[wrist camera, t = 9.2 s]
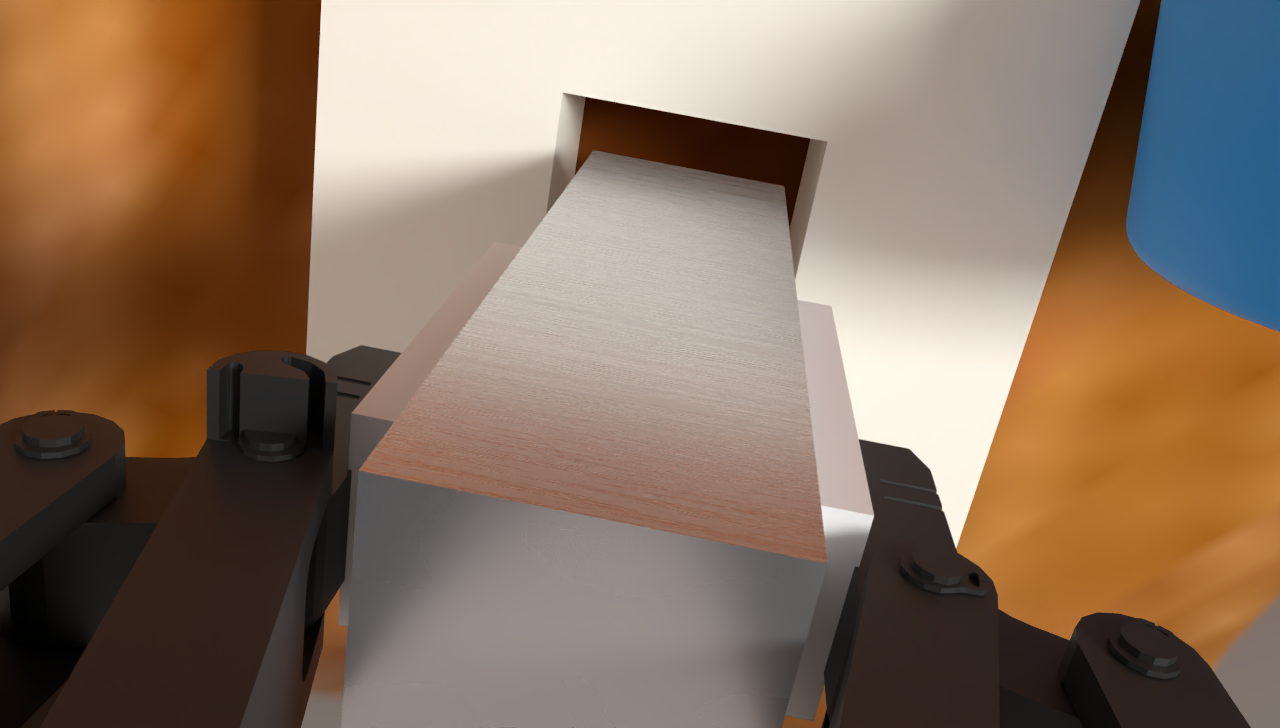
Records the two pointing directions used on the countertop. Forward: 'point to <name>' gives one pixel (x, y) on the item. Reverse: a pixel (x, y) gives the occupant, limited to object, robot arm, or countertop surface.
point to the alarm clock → (1213, 156)
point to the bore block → (747, 96)
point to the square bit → (601, 479)
